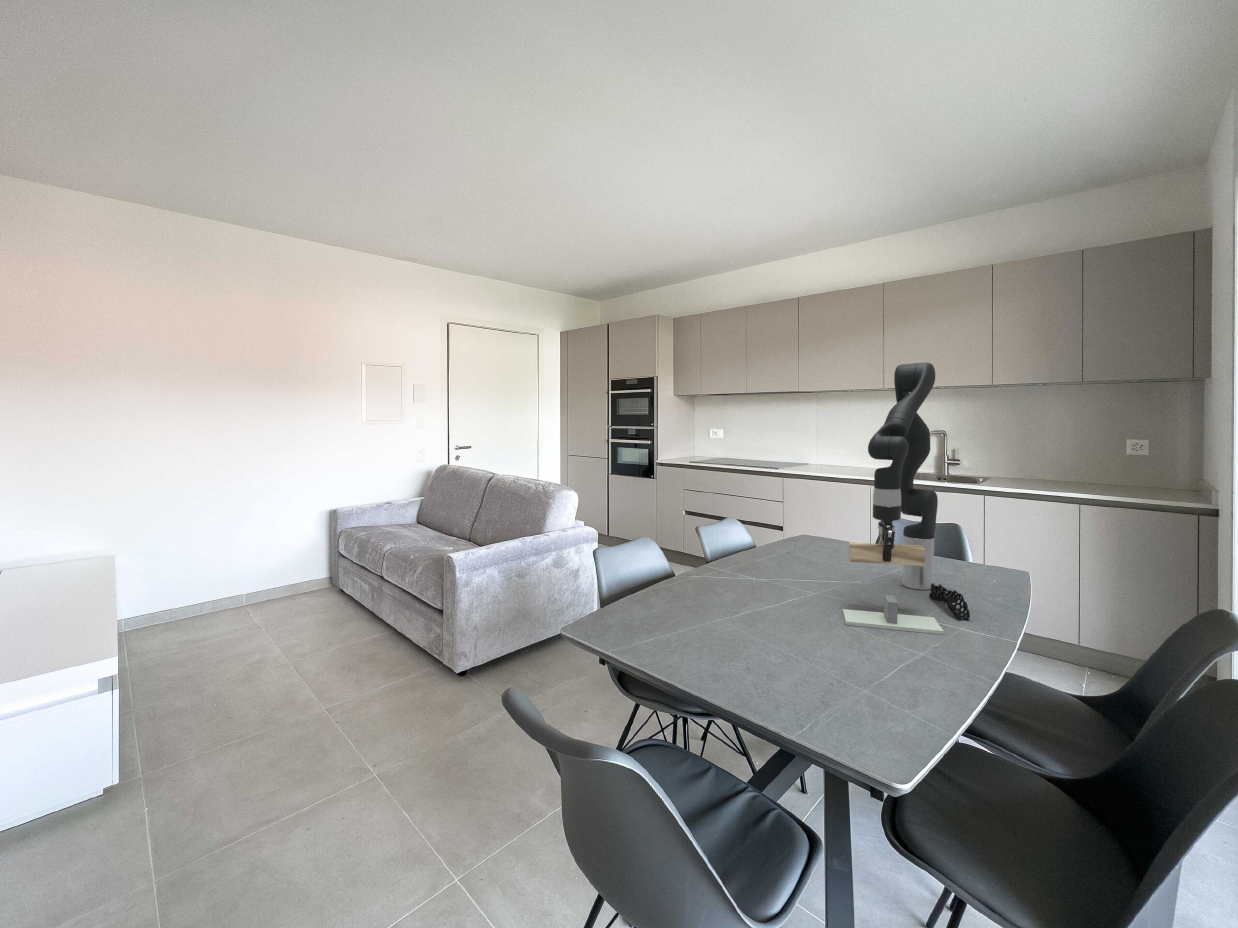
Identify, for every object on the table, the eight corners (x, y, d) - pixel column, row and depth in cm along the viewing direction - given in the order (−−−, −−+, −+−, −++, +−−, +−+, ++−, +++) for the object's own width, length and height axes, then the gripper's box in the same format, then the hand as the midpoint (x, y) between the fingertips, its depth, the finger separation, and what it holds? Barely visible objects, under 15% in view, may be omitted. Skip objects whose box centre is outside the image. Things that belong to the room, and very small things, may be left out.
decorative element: (973, 622, 151) (974, 602, 151) (954, 621, 152) (955, 601, 151) (941, 596, 173) (942, 578, 173) (924, 595, 174) (925, 577, 173)
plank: (849, 557, 166) (849, 542, 166) (921, 562, 160) (922, 545, 159) (850, 561, 162) (850, 545, 162) (924, 565, 156) (925, 549, 155)
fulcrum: (842, 612, 159) (843, 589, 159) (934, 620, 152) (935, 596, 151) (845, 624, 150) (846, 600, 149) (943, 634, 142) (944, 609, 142)
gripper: (869, 498, 167) (868, 552, 169) (876, 507, 154) (875, 565, 155) (896, 499, 165) (895, 553, 166) (905, 507, 151) (904, 566, 153)
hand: (885, 558), depth 161 cm, fingers closed on plank, 4 cm apart
